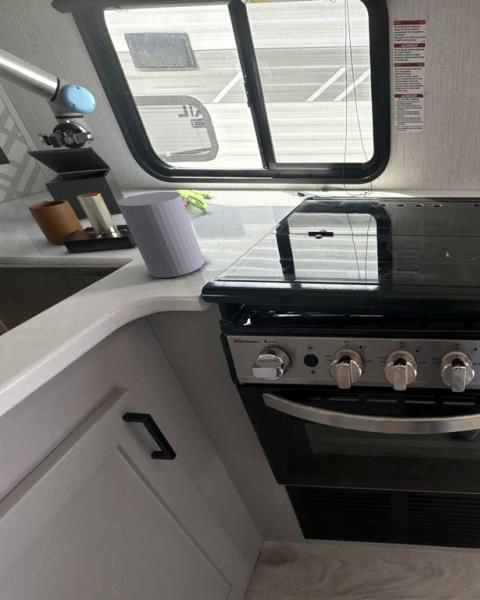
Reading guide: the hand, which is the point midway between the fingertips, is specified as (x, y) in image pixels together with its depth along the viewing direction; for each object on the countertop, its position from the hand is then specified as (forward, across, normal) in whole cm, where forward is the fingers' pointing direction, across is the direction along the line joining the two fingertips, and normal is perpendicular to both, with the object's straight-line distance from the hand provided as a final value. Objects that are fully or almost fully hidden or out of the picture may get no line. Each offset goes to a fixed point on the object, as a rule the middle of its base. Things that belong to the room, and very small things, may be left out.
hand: (54, 142), depth 91 cm
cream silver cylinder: (+29, +7, +18) cm, 35 cm away
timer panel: (+29, +7, +21) cm, 37 cm away
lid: (-10, 0, +6) cm, 12 cm away
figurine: (+4, +24, +22) cm, 32 cm away
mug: (+18, -3, +22) cm, 28 cm away
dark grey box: (-9, 0, +21) cm, 23 cm away
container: (+56, +21, +22) cm, 63 cm away
